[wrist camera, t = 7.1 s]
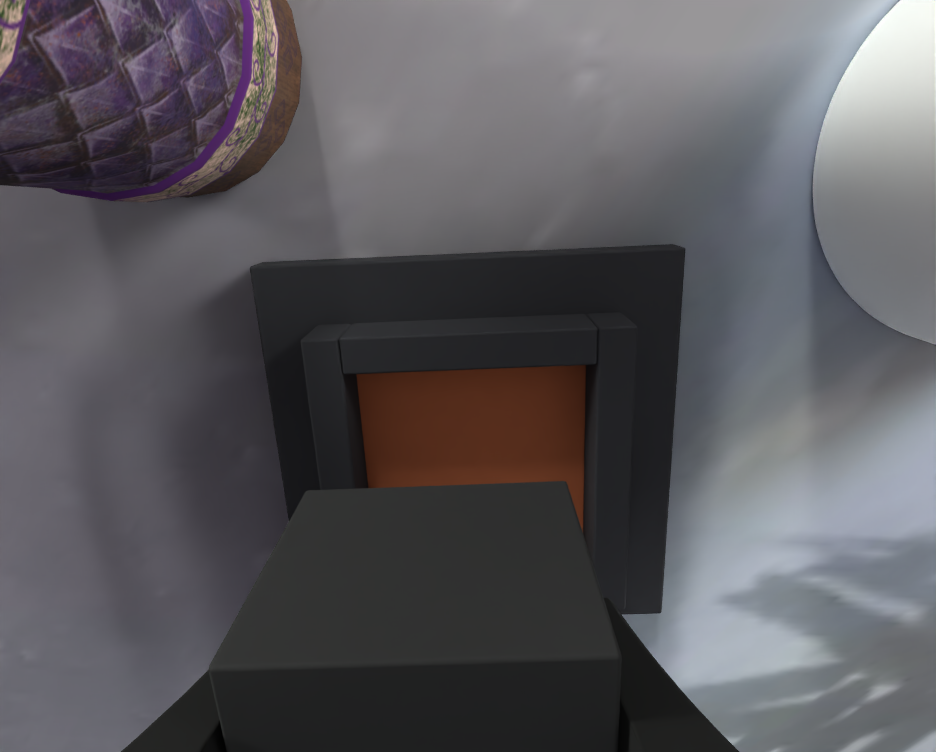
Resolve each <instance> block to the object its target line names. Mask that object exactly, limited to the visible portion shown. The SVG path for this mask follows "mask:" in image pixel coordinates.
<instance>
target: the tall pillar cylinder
mask: <svg viewBox="0 0 936 752" xmlns="http://www.w3.org/2000/svg"><path fill="white" fill-rule="evenodd" d="M813 208H814V216H815V223H816V228H817V232H818V236H819V240H820V243H821V246H822V249H823V252H824V255H825V257H826V259H827V262H828V264H829V266H830V268H831V270H832V271H833V273H834V275H835V277H836V278H837V280H838V281H839V283H840V284H841V286H842V287H843V288H844V290H845V291H846V292H847V293H848V295H849V296H850V297H851V298H852V299H853V300H854V301H855V302H856V303H857V304H858V305H859V306H860V307H861V308H862V309H863V310H865V311H866V312H867V313H868V314H870V315H871V316H872V317H874V318H875V319H877V320H878V321H880V322H881V323H883V324H885V325H887V326H888V327H890V328H892V329H894V330H897V331H899V332H901V333H903V334H906V335H908V336H911V337H914V338H917V339H920V340H923V341H926V342H928V343H931V344H934V345H936V0H900V1H899V2H898V3H897V4H896V5H895V6H894V7H893V8H892V9H891V10H890V11H889V12H888V13H887V14H886V16H885V17H884V18H883V19H882V20H881V21H880V22H879V24H878V25H877V26H876V27H875V28H874V30H873V31H872V32H871V33H870V35H869V36H868V37H867V39H866V40H865V41H864V43H863V44H862V46H861V47H860V49H859V50H858V52H857V53H856V55H855V56H854V58H853V59H852V61H851V63H850V64H849V66H848V68H847V70H846V71H845V73H844V75H843V77H842V79H841V81H840V83H839V85H838V87H837V89H836V91H835V93H834V96H833V98H832V100H831V103H830V105H829V108H828V111H827V113H826V116H825V119H824V122H823V126H822V129H821V133H820V137H819V141H818V145H817V150H816V156H815V163H814V172H813Z"/></svg>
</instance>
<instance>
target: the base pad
mask: <svg viewBox="0 0 936 752" xmlns="http://www.w3.org/2000/svg"><path fill="white" fill-rule="evenodd" d="M684 262H685V248H683V247H680V246H677V245H673V244H669V245H647V246H624V247H601V248H578V249H556V250H533V251H510V252H488V253H465V254H442V255H419V256H397V257H374V258H351V259H329V260H306V261H283V262H262V263H260V264H257V265H254V266H251V267H250V272H251V279H252V285H253V292H254V298H255V305H256V311H257V318H258V324H259V331H260V337H261V343H262V350H263V356H264V363H265V369H266V376H267V382H268V389H269V395H270V402H271V408H272V414H273V421H274V427H275V434H276V440H277V447H278V453H279V460H280V466H281V472H282V479H283V485H284V492H285V498H286V505H287V511H288V518H289V521H290V519H291V517H292V515H293V514H294V512H295V510H296V508H297V506H298V504H299V503H300V501H301V499H302V497H303V495H304V494H305V492H306V491H309V490H334V489H361V488H388V487H415V486H441V485H468V484H495V483H522V482H548V481H566V482H567V484H568V488H569V491H570V494H571V497H572V500H573V503H574V507H575V510H576V513H577V516H578V519H579V522H580V525H581V529H582V532H583V535H584V538H585V541H586V544H587V548H588V551H589V554H590V557H591V560H592V563H593V567H594V570H595V573H596V576H597V579H598V582H599V586H600V589H601V592H602V595H603V598H609V599H610V600H611V601H612V602H613V603H614V605H615V606H616V607H617V609H618V610H619V612H620V613H621V614H650V613H661V610H662V595H663V579H664V564H665V549H666V534H667V519H668V504H669V489H670V474H671V458H672V443H673V428H674V413H675V398H676V383H677V368H678V353H679V337H680V322H681V307H682V292H683V277H684Z"/></svg>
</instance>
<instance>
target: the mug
mask: <svg viewBox="0 0 936 752" xmlns="http://www.w3.org/2000/svg"><path fill="white" fill-rule="evenodd" d="M301 61H302V56H301V52H300V47H299V42H298V38H297V33H296V29H295V24H294V20H293V15H292V11H291V8H290V7H289V5H288V3H287V1H286V0H0V185H7V186H22V187H37V188H52V189H54V190H56V191H58V192H60V193H65V194H71V195H77V196H84V197H90V198H96V199H103V200H109V201H128V202H152V201H157V200H163V199H169V198H175V197H193V196H199V195H205V194H211V193H217V192H222V191H226V190H228V189H230V188H232V187H233V186H235V185H237V184H239V183H240V182H242V181H244V180H246V179H247V178H249V177H251V176H252V175H254V174H256V173H258V172H259V171H260V170H261V168H262V167H263V166H264V165H265V164H266V163H267V161H268V160H269V159H270V158H271V157H272V155H273V154H274V153H275V152H276V151H277V149H278V148H279V147H280V146H281V145H282V143H283V142H284V140H285V137H286V135H287V132H288V130H289V127H290V124H291V122H292V119H293V117H294V114H295V111H296V109H297V106H298V104H299V93H300V77H301Z"/></svg>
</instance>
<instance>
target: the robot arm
mask: <svg viewBox="0 0 936 752" xmlns="http://www.w3.org/2000/svg"><path fill="white" fill-rule="evenodd" d="M604 601H605V604H606V608H607V611H608V614H609V617H610V620H611V623H612V627H613V630H614V633H615V636H616V639H617V642H618V646H619V649H620V652H621V655H622V663H621V688H620V713H619V737H618V752H739V751H738V750H737V749H736V748H735V747H734V746H733V745H732V744H731V743H730V742H729V741H728V740H727V739H726V738H725V737H724V736H723V735H722V734H721V733H720V732H719V731H718V730H717V729H716V728H715V727H714V726H713V725H712V723H711V722H710V721H709V720H708V719H707V718H706V717H705V716H704V715H703V714H702V713H701V712H700V711H699V710H698V709H697V707H696V706H695V705H694V704H693V703H692V702H691V701H690V700H689V699H688V697H687V696H686V695H685V694H684V693H683V692H682V691H681V689H680V688H679V687H678V686H677V685H676V684H675V682H674V681H673V680H672V679H671V678H670V676H669V675H668V674H667V673H666V672H665V670H664V669H663V668H662V667H661V666H660V665H659V663H658V662H657V661H656V660H655V658H654V657H653V656H652V655H651V653H650V652H649V651H648V650H647V648H646V647H645V646H644V644H643V643H642V642H641V640H640V639H639V638H638V637H637V635H636V634H635V633H634V631H633V630H632V629H631V627H630V626H629V624H628V623H627V622H626V620H625V619H624V617H623V616H622V615H621V613H620V612H619V610H618V609H617V607H616V606H615V605H614V603H613V602H612V601H611V600H610V599H609V598H604ZM121 752H227V751H226V746H225V742H224V737H223V733H222V729H221V724H220V720H219V715H218V711H217V706H216V702H215V697H214V693H213V689H212V684H211V680H210V675H209V670H208V671H207V672H206V673H205V674H204V675H203V676H202V677H201V678H200V679H199V680H198V681H197V682H196V683H195V684H194V685H193V686H192V687H191V688H190V689H189V690H188V691H187V692H186V693H185V694H184V695H183V696H182V697H181V698H179V699H178V700H177V701H176V702H175V703H174V704H173V705H172V706H171V707H170V708H169V709H168V710H166V711H165V712H164V713H163V714H162V715H161V716H160V717H159V718H158V719H157V720H156V721H155V722H153V723H152V724H151V725H150V726H149V727H148V728H147V729H146V730H145V731H144V732H143V733H142V734H140V735H139V736H138V737H137V738H136V739H135V740H134V741H133V742H131V743H130V744H129V745H128V746H127V747H126V748H125V749H123V750H122V751H121Z"/></svg>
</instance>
